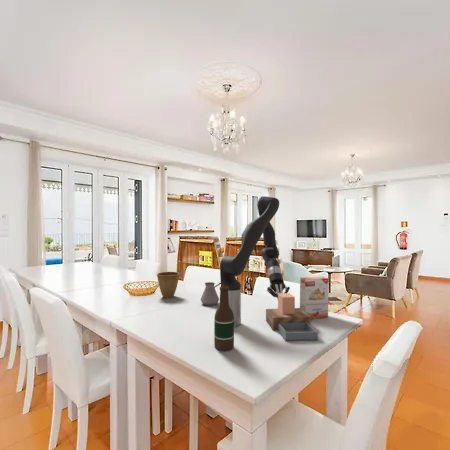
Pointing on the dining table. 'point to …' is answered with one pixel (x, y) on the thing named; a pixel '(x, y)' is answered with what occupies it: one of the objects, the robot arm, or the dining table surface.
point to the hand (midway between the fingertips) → (281, 303)
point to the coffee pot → (210, 294)
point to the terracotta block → (286, 303)
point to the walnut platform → (286, 317)
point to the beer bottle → (224, 323)
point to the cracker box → (314, 296)
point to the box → (297, 332)
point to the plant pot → (168, 283)
